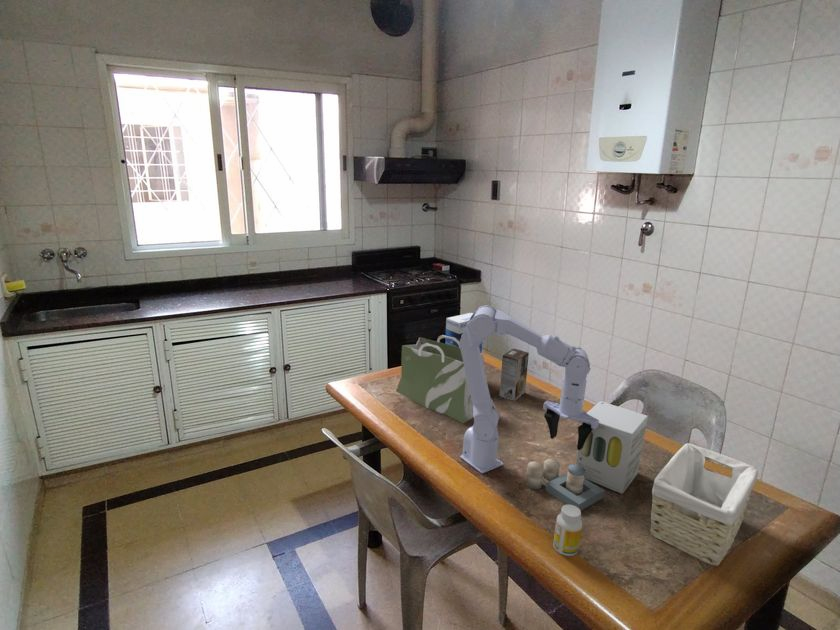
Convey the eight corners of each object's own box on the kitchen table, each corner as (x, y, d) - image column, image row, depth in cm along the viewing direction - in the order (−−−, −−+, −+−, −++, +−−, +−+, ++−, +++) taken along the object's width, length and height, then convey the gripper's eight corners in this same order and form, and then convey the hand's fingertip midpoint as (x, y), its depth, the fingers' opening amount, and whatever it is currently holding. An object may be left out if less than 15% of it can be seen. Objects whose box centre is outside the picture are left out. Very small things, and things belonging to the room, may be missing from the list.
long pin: (561, 492, 126) (565, 466, 124) (572, 488, 128) (576, 462, 126) (573, 501, 123) (577, 475, 120) (584, 496, 125) (588, 470, 122)
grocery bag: (393, 392, 179) (394, 332, 173) (419, 382, 189) (421, 324, 182) (462, 424, 158) (466, 356, 152) (487, 410, 168) (492, 346, 162)
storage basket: (719, 576, 101) (735, 515, 97) (639, 535, 112) (650, 478, 108) (747, 521, 118) (761, 467, 114) (675, 490, 129) (686, 440, 124)
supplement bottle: (548, 547, 107) (553, 510, 104) (560, 535, 111) (565, 498, 108) (571, 561, 104) (577, 522, 101) (582, 547, 107) (588, 510, 105)
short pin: (539, 475, 133) (541, 462, 132) (549, 470, 135) (551, 457, 134) (551, 482, 130) (552, 469, 129) (561, 477, 132) (562, 464, 131)
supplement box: (572, 474, 134) (580, 416, 129) (591, 454, 144) (599, 399, 139) (622, 495, 126) (633, 433, 121) (638, 472, 135) (649, 415, 131)
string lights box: (467, 374, 198) (471, 312, 190) (480, 380, 192) (485, 316, 185) (442, 382, 189) (445, 317, 182) (456, 388, 184) (460, 322, 177)
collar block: (545, 490, 126) (546, 483, 126) (570, 477, 132) (571, 470, 131) (577, 512, 119) (578, 504, 118) (603, 497, 124) (604, 490, 124)
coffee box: (509, 388, 186) (513, 348, 181) (525, 393, 182) (529, 352, 178) (498, 396, 179) (502, 354, 174) (514, 401, 175) (518, 359, 171)
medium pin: (522, 482, 129) (524, 464, 128) (533, 477, 132) (535, 459, 130) (534, 490, 126) (536, 472, 125) (544, 485, 128) (547, 467, 127)
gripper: (539, 391, 128) (534, 437, 132) (592, 410, 119) (585, 459, 123) (552, 383, 133) (547, 428, 137) (605, 401, 124) (597, 449, 128)
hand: (566, 442), depth 130 cm, fingers open, 7 cm apart
